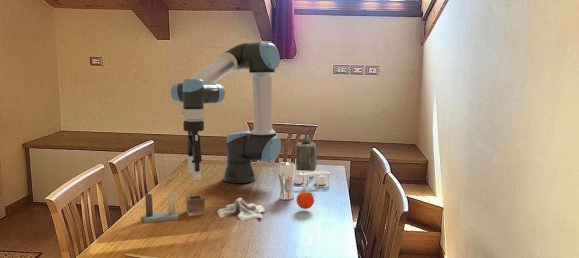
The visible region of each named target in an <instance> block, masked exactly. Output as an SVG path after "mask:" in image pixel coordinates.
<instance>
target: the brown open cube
mask: <svg viewBox="0 0 579 258" xmlns="http://www.w3.org/2000/svg"><path fill="white" fill-rule="evenodd" d="M185 200H186V212H187V215H188V216H189V217H190V216H191V217H193V216H201V215H203V216H204V215H205V214H206V213H205V211H206V210H205V198H204V195H203V194H200V195H198V194H196V195H187V196H186V197H185Z"/></svg>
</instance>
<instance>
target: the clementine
mask: <svg viewBox="0 0 579 258" xmlns="http://www.w3.org/2000/svg"><path fill="white" fill-rule="evenodd" d="M315 198H316V195H315V194H314V192H311V191H307V190H304V191H301V192H299V193H298V194H297V196H296V204H297V205H298V206H299V208H301V209H304V210H307V209H310V208H312V206H313V205H314V203H315Z"/></svg>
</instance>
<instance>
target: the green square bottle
mask: <svg viewBox="0 0 579 258" xmlns="http://www.w3.org/2000/svg"><path fill="white" fill-rule="evenodd" d="M317 145H318V144H316V143H315V142H313V141H312V140H311V139H310V138H309V137H308V129H307V128H305V132H304V137H303V138H302V139H301V141H299V142H297V144H296V149H295V151H296V153H295V154H296V155H295V159H296V161H295V165H296V166H295V171H315V170H316V169H317V160H318V159H317V154H318V153H317V151H318V148H317Z"/></svg>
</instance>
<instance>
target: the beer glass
mask: <svg viewBox="0 0 579 258" xmlns="http://www.w3.org/2000/svg"><path fill="white" fill-rule="evenodd" d="M295 165H296V164H295V163H294V162H291V161H288V162H287V161H284V162H279V163H278V181H279V186H280V187H279V189H280V193H279V199H280V200H283V201H288V200H289V201H290V200H293V199H294V198H295V197H294V196H295V195H294V188H293V187H294V179H295V171H296V166H295Z"/></svg>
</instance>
